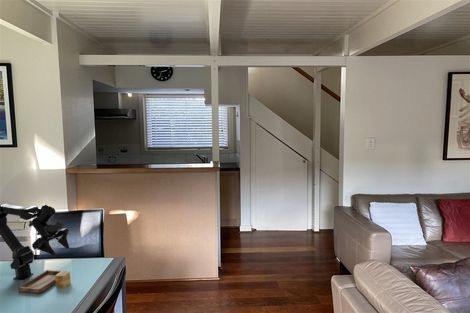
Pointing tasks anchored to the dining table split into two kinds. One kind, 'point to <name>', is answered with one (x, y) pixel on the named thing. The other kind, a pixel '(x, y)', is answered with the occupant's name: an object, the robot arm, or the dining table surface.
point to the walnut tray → (40, 283)
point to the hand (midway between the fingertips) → (61, 251)
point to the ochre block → (62, 279)
